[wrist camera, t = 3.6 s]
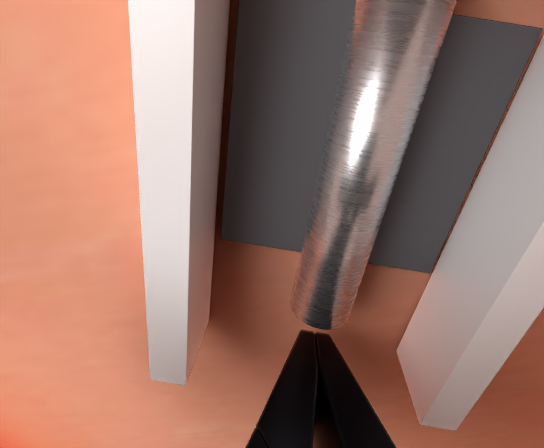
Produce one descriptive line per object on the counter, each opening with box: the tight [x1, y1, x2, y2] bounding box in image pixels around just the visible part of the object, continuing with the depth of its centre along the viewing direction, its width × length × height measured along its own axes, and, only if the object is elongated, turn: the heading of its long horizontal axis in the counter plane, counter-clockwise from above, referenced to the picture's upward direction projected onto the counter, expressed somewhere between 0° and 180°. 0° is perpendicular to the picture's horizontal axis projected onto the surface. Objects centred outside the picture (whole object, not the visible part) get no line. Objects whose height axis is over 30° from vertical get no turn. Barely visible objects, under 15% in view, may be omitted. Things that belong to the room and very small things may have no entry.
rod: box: [291, 0, 457, 330], centre depth 7 cm, size 8×2×2 cm, turn 172°
